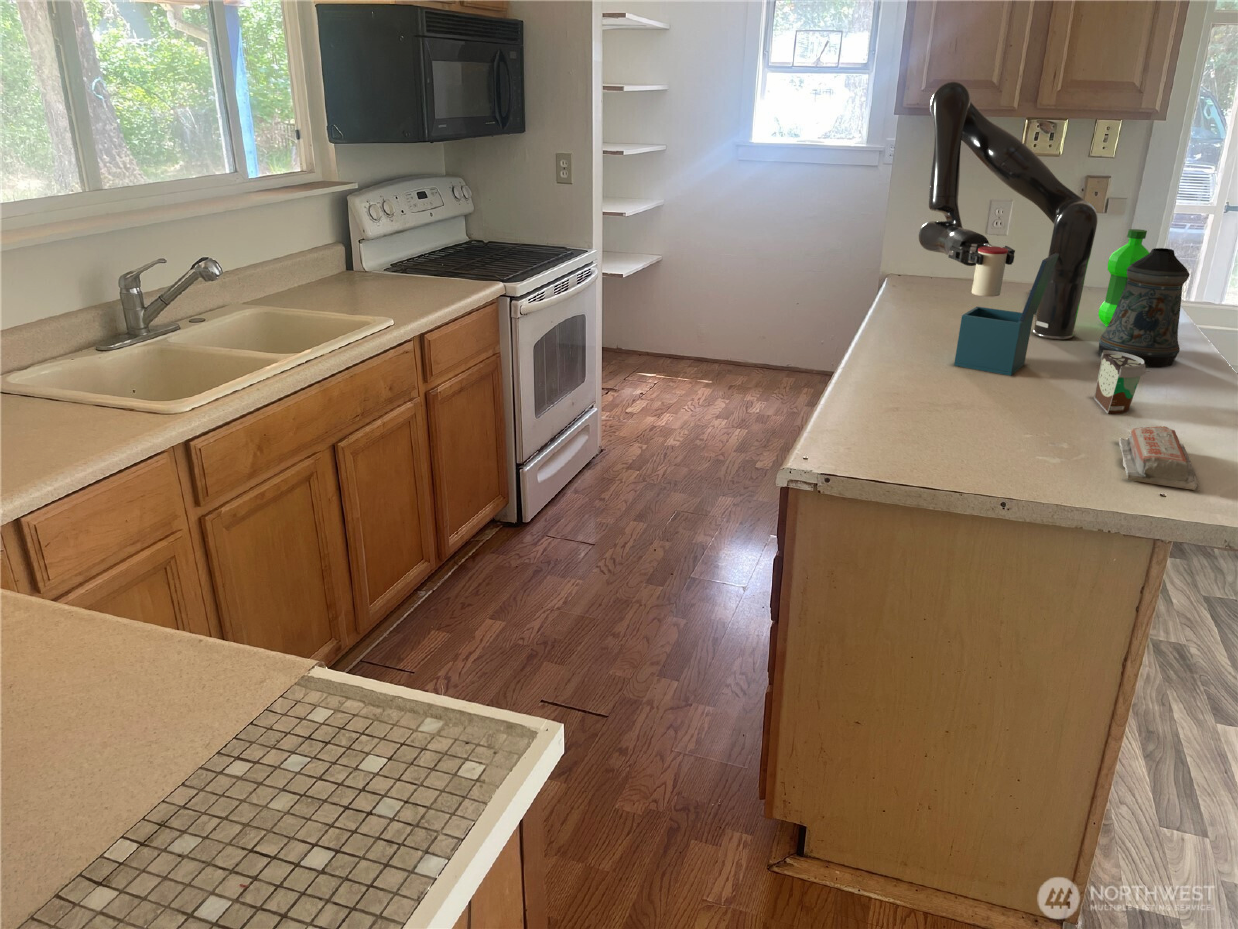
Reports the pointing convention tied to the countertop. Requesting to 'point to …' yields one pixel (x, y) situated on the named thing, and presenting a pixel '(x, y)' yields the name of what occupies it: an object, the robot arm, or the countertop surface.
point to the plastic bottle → (1121, 271)
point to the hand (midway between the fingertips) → (996, 259)
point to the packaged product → (1157, 458)
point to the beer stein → (1149, 310)
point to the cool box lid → (1039, 287)
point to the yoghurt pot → (990, 272)
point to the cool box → (993, 340)
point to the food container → (1118, 381)
